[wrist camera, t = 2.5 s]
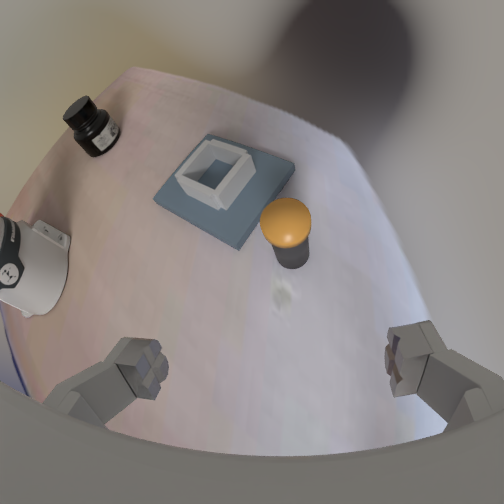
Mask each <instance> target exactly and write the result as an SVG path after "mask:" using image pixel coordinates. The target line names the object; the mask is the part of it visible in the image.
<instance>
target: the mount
mask: <svg viewBox="0 0 504 504" xmlns="http://www.w3.org/2000/svg"><path fill="white" fill-rule="evenodd" d="M294 171H295V166H294V163H292V162H289V161H286V160H284V159H281V158H278V157H276V156H273V155H270V154H267V153H265V152H262V151H259V150H256V149H253V148H250V147H248V146H245V145H242V144H239V143H236V142H233V141H229V140H226V139H223V138H220V137H217V136H213V135H210V134H207V135H206V136H205V138H204V139H203V140H202V141H201V142H200V143H199V144H198V145H197V146H196V147H195V149H194V150H193V151H192V152H191V153H190V154H189V155H188V157H187V158H186V159H185V160H184V161H183V162H182V163H181V165H180V166H179V167H178V168H177V169H176V171H175V172H174V173H173V174H172V175H171V177H170V178H169V179H168V180H167V181H166V183H165V184H164V185H163V186H162V188H161V189H160V190H159V191H158V193H157V194H156V195H155V196H154V198H153V200H154V201H155V202H156V203H157V204H158V205H160V206H162V207H164V208H165V209H167V210H169V211H170V212H172V213H174V214H176V215H177V216H179V217H181V218H183V219H184V220H186V221H188V222H190V223H191V224H193V225H195V226H197V227H198V228H200V229H202V230H203V231H205V232H207V233H209V234H210V235H212V236H214V237H216V238H217V239H219V240H221V241H223V242H224V243H226V244H228V245H230V246H231V247H233V248H235V249H237V250H238V251H239V250H240V248H241V247H242V246H243V244H244V243H245V241H246V240H247V238H248V237H249V235H250V234H251V233H252V231H253V230H254V228H255V227H256V225H257V224H258V222H259V221H260V217H261V214H262V212H263V210H264V209H265V207H266V206H267V205H268V204H270V203H271V202H273V201H274V200H275V198H276V197H277V195H278V194H279V192H280V191H281V190H282V188H283V187H284V185H285V184H286V182H287V181H288V180H289V178H290V177H291V175H292V174H293V173H294Z"/></svg>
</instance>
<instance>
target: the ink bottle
mask: <svg viewBox="0 0 504 504" xmlns="http://www.w3.org/2000/svg"><path fill="white" fill-rule="evenodd" d="M63 120H64V121H65V122H66V123H67V124H68V125H69V126H70V128H72V130H74V139H75V141H76V142H77V143H78V144H79V145H80V146H81V147H82V148H83V149H84V150H85V151H86V153H87V154H88V155H89V156H91V157H97V156H100V155H102V154H104V153H106V152H107V151H108V150H110V149H111V148H112V147H113V145H114V144H115V143H116V141H117V140H118V138H119V135H120V129H119V127H118V126H117V124H116V123H115V122H114V121H113V119H112V118H111V117H110V115H109V114H108V113H107V112H106V111H105V110H103V109H97V107H96V105H95V104H94V103H93V101H92V100H91V99H90V98H89V96H84V97H82V98H80V99H78V100H77V101H76V102H75V103H73V104H72V105H71V106H70V107H69V108H68V110H67V111H66V112H65V114H64V116H63Z"/></svg>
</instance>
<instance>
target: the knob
mask: <svg viewBox="0 0 504 504" xmlns="http://www.w3.org/2000/svg"><path fill="white" fill-rule="evenodd" d="M260 226H261V229H262V232H263V234H264V236H265V238H266V240H267V241H268V242H269V243H271V244H272V247H273V249H274V252H275V255H276V258H277V260H278V262H279V263H280V264H281V265H282V266H283V267H285V268H288V269H297V268H299V267H301V266H303V265H304V264H305V263H306V262H307V260H308V257H309V243H308V235H309V234H310V231H311V215H310V212H309V210H308V208H307V207H306V206H305V205H304V204H303V203H302V202H300V201H299V200H296V199H293V198H281V199H277V200H275V201H273V202H271V203H270V204H268V205H267V206H266V207H265V209H264V210H263V212H262V214H261V217H260Z"/></svg>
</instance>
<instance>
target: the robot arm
mask: <svg viewBox="0 0 504 504" xmlns="http://www.w3.org/2000/svg"><path fill="white" fill-rule="evenodd" d="M69 245H70V236H69V235H67V234H65V233H63V232H61V231H59V230H58V229H56V228H54V227H52V226H51V225H49V224H47V223H45V222H44V221H42V220H38V221H37V222H36V223H35V224H34V225H33V226H31V225H30V224H28V223H27V222H25V221H23V220H21V221H19V222H17V223H16V222H14V221H12V220H11V219H9V218H6V217H4V216H3V215H2V214H1V213H0V300H1V301H3V302H5V303H7V304H9V305H11V306H14V307H16V308H18V309H20V310H21V312H22V315H23V316H24V317H26V318H29V317H31V316H32V315H34V314H36V315H43V314H46V313H47V312H49V311H50V310H51V309H52V308H53V307H54V305H55V304H56V302H57V301H58V299H59V297H60V295H61V293H62V290H63V288H64V284H65V281H66V276H67V269H68V249H69ZM387 339H388V342H389V344H388V345H387V346H386V347H385V368H386V372H387V374H389V375H390V376H391V379H390V386H391V390H392V394H393V397H399V396H405V395H410V394H416V393H417V395H418V396H419V397H420V398H421V399H422V400H423V401H424V402H426V403H427V404H428V405H429V406H430V407H431V408H432V409H433V410H434V411H435V412H437V413H438V414H439V415H440V416H441V417H442V418H443V419H444V420H445V421H446V422H447V423H448V424H447V426H446V428H445V429H444V431H443V432H442V433H440V434H437V435H433V436H430V437H426V438H422V439H419V440H415V441H410V442H406V443H402V444H397V445H392V446H387V447H382V448H376V449H370V450H363V451H356V452H348V453H339V454H328V455H313V456H251V455H236V454H225V453H215V452H207V451H200V450H193V449H187V448H181V447H175V446H170V445H165V444H161V443H156V442H152V441H147V440H143V439H139V438H135V437H132V436H128V435H124V434H121V433H118V432H114V431H111V430H109V429H108V428H107V427H106V426H105V425H104V424H105V423H107V422H108V421H109V420H110V419H112V418H113V417H114V416H116V415H117V414H118V413H119V412H121V411H122V410H123V409H124V408H126V407H127V406H128V405H129V404H131V403H132V402H133V401H134V400H136V399H137V398H142V399H150V400H155V399H156V397H157V395H158V393H159V391H160V389H161V386H160V383H161V382H162V381H164V380H165V379H166V377H167V375H168V370H169V365H168V361H167V358H166V356H165V355H163V354H162V353H161V352H160V351H161V348H162V347H161V345H160V343H159V341H158V340H155V339H145V338H131V337H123V338H121V339H120V341H119V342H118V343H117V344H116V346H115V347H114V348H113V350H112V351H111V352H110V353H109V355H108V356H107V357H106V359H105V360H104V361H103V362H98V363H97V364H95V365H93V366H91V367H89V368H87V369H85V370H84V371H82V372H80V373H78V374H76V375H74V376H72V377H70V378H69V379H67V380H65V381H63V382H61V383H59V384H57V385H56V386H55V388H54V389H53V390H52V392H51V393H50V394H49V395H48V397H47V398H46V399H45V401H44V402H43V403H40V402H38V401H36V400H34V399H32V398H30V397H28V396H26V395H24V394H22V393H20V392H19V391H17V390H15V389H13V388H11V387H10V386H8V385H6V384H5V383H3V382H1V381H0V504H504V380H503V379H502V377H501V376H499V375H497V374H495V373H493V372H492V371H490V370H488V369H486V368H484V367H483V366H481V365H479V364H477V363H475V362H474V361H472V360H470V359H468V358H466V357H465V356H463V355H461V354H459V353H457V352H456V351H454V350H452V349H451V350H448V349H447V348H446V346H445V344H444V342H443V341H442V339H441V337H440V335H439V334H438V332H437V330H436V328H435V327H434V325H433V323H432V322H431V321H430V320H428V321H423V322H418V323H415V324H409V325H403V326H397V327H391V328H389V330H388V333H387Z"/></svg>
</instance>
